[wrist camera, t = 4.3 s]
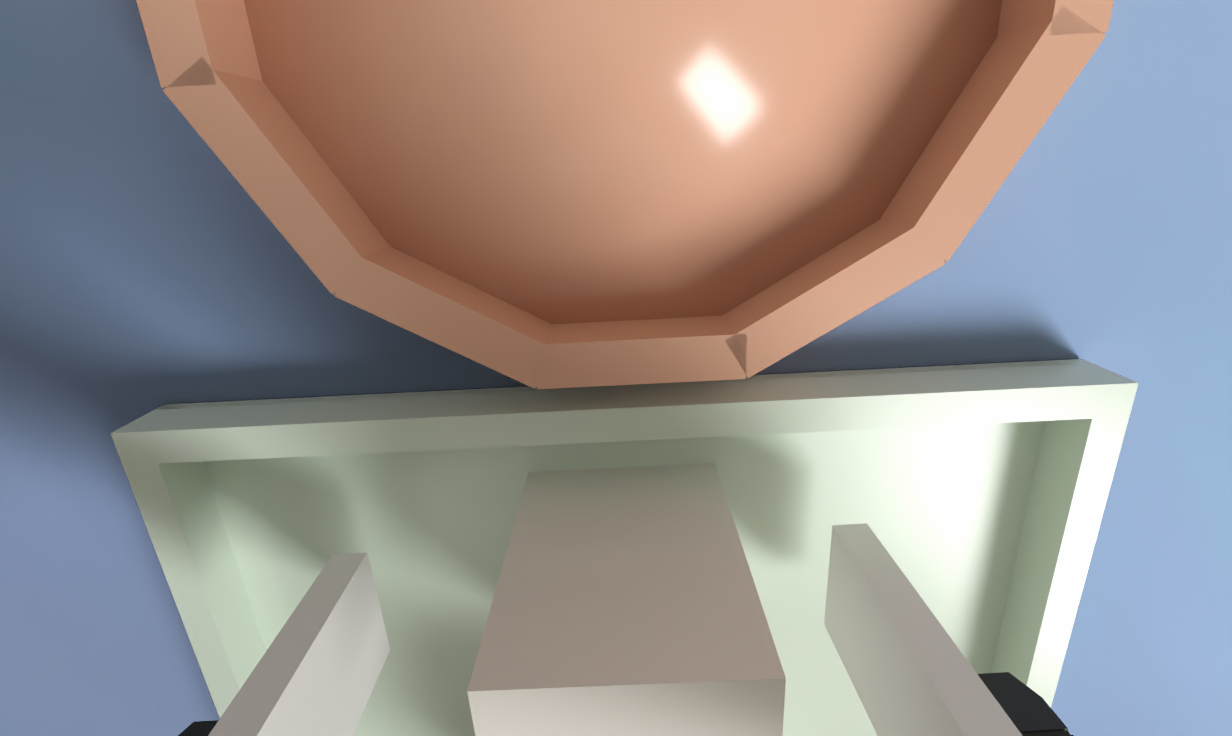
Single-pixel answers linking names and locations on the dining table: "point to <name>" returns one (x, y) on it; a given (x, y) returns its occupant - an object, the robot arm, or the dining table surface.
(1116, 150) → the dining table surface
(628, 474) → the pale grey block
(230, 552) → the parts tray
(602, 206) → the bowl
